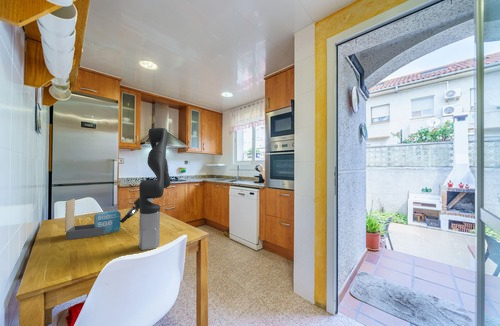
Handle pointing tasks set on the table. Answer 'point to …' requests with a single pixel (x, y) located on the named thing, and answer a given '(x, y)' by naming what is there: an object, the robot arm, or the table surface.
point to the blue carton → (108, 221)
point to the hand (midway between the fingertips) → (121, 222)
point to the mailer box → (79, 230)
